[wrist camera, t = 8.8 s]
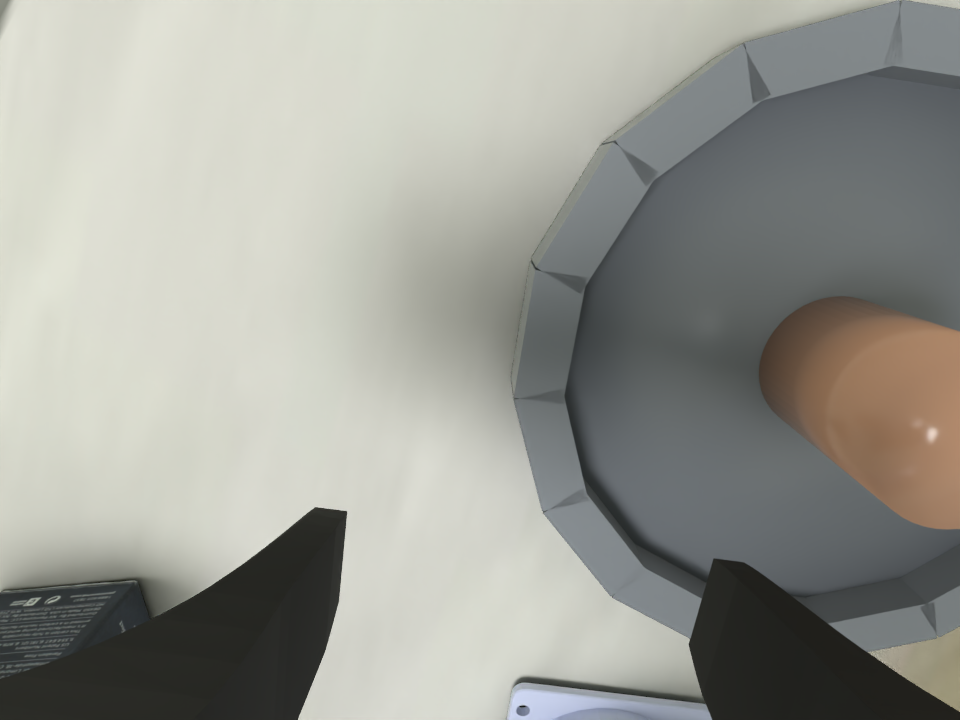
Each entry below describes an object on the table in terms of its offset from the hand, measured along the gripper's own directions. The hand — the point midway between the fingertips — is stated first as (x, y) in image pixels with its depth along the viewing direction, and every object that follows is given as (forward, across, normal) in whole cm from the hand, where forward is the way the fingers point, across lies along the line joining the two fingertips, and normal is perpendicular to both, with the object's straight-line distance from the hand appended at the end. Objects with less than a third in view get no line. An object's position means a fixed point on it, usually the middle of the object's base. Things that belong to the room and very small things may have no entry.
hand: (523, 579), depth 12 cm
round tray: (+9, -10, -3) cm, 14 cm away
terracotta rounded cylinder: (+9, -10, -3) cm, 14 cm away
